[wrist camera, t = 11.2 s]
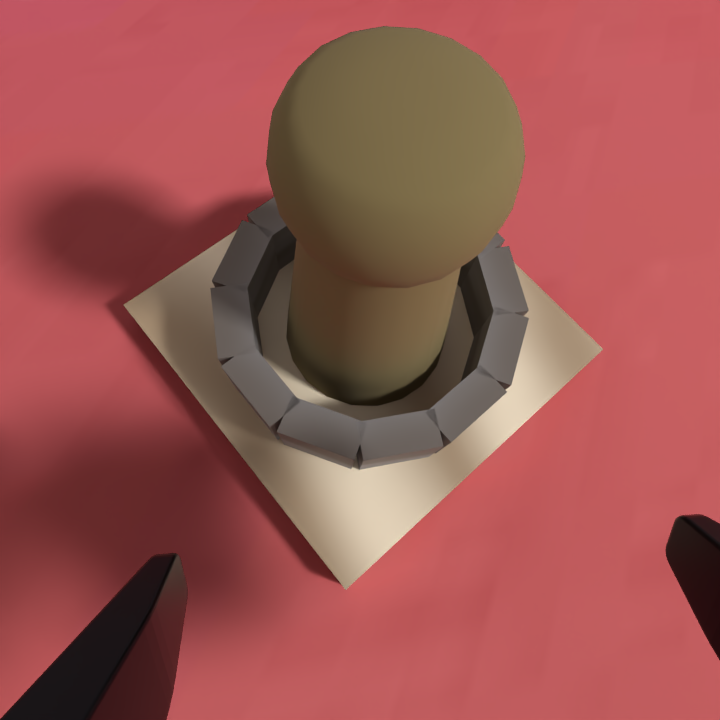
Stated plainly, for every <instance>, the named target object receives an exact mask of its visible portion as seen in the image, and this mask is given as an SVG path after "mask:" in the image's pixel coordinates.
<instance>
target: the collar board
mask: <svg viewBox="0 0 720 720" xmlns="http://www.w3.org/2000/svg"><path fill="white" fill-rule="evenodd" d="M247 216H248V220H249V222H246V221H243V220H242V221H241V223H240V225H239V227H238V229H237V230H236V231H234V232H233V233H231V234H230V235H228V236H227V237H225V238H224V239H222V240H221V241H219V242H218V243H216V244H214V245H213V246H211V247H210V248H208V249H207V250H205V251H204V252H202V253H201V254H199V255H198V256H196V257H195V258H193V259H192V260H190V261H189V262H187V263H186V264H184V265H183V266H181V267H180V268H178V269H177V270H175V271H174V272H172V273H171V274H169V275H168V276H166V277H165V278H163V279H162V280H160V281H159V282H157V283H156V284H154V285H153V286H151V287H150V288H148V289H147V290H145V291H144V292H142V293H141V294H139V295H138V296H136V297H135V298H133V299H132V300H130V301H129V302H127V303H126V304H124V306H125V308H126V309H127V310H128V312H129V313H130V314H131V315H132V317H133V318H134V319H135V321H136V322H137V323H138V324H139V326H140V327H141V328H142V329H143V331H144V332H145V333H146V335H147V336H148V337H149V338H150V340H151V341H152V342H153V344H154V345H155V346H156V347H157V349H158V350H159V351H160V353H161V354H162V355H163V356H164V358H165V359H166V360H167V362H168V363H169V364H170V365H171V367H172V368H173V369H174V371H175V372H176V373H177V374H178V376H179V377H180V378H181V379H182V381H183V382H184V383H185V385H186V386H187V387H188V388H189V390H190V391H191V392H192V394H193V395H194V396H195V397H196V399H197V400H198V401H199V403H200V404H201V405H202V406H203V408H204V409H205V410H206V412H207V413H208V414H209V415H210V417H211V418H212V419H213V420H214V422H215V423H216V424H217V426H218V427H219V428H220V429H221V431H222V432H223V433H224V435H225V436H226V437H227V438H228V440H229V441H230V442H231V444H232V445H233V446H234V447H235V449H236V450H237V451H238V453H239V454H240V455H241V456H242V458H243V459H244V460H245V462H246V463H247V464H248V465H249V467H250V468H251V469H252V470H253V472H254V473H255V474H256V476H257V477H258V478H259V479H260V481H261V482H262V483H263V485H264V486H265V487H266V488H267V490H268V491H269V492H270V494H271V495H272V496H273V497H274V499H275V500H276V501H277V503H278V504H279V505H280V506H281V508H282V509H283V510H284V511H285V513H286V514H287V515H288V517H289V518H290V519H291V520H292V522H293V523H294V524H295V526H296V527H297V528H298V529H299V531H300V532H301V533H302V535H303V536H304V537H305V538H306V540H307V541H308V542H309V544H310V545H311V546H312V547H313V549H314V550H315V551H316V553H317V554H318V555H319V556H320V558H321V559H322V560H323V561H324V563H325V564H326V565H327V567H328V568H329V569H330V570H331V572H332V573H333V574H334V576H335V577H336V578H337V579H338V581H339V582H340V583H341V585H342V586H343V587H344V588H345V590H346V589H347V588H348V587H349V586H350V585H351V584H353V583H354V582H355V581H356V580H357V579H358V578H359V577H360V576H361V575H362V574H363V573H364V572H365V571H366V570H368V569H369V568H370V567H371V566H372V565H373V564H374V563H375V562H376V561H377V560H378V559H379V558H380V557H381V556H383V555H384V554H385V553H386V552H387V551H388V550H389V549H390V548H391V547H392V546H393V545H394V544H395V543H396V542H397V541H399V540H400V539H401V538H402V537H403V536H404V535H405V534H406V533H407V532H408V531H409V530H410V529H411V528H412V527H414V526H415V525H416V524H417V523H418V522H419V521H420V520H421V519H422V518H423V517H424V516H425V515H426V514H427V513H429V512H430V511H431V510H432V509H433V508H434V507H435V506H436V505H437V504H438V503H439V502H440V501H441V500H442V499H443V498H445V497H446V496H447V495H448V494H449V493H450V492H451V491H452V490H453V489H454V488H455V487H456V486H457V485H458V484H460V483H461V482H462V481H463V480H464V479H465V478H466V477H467V476H468V475H469V474H470V473H471V472H472V471H473V470H475V469H476V468H477V467H478V466H479V465H480V464H481V463H482V462H483V461H484V460H485V459H486V458H487V457H488V456H490V455H491V454H492V453H493V452H494V451H495V450H496V449H497V448H498V447H499V446H500V445H501V444H502V443H503V442H504V441H506V440H507V439H508V438H509V437H510V436H511V435H512V434H513V433H514V432H515V431H516V430H517V429H518V428H519V427H521V426H522V425H523V424H524V423H525V422H526V421H527V420H528V419H529V418H530V417H531V416H532V415H533V414H534V413H536V412H537V411H538V410H539V409H540V408H541V407H542V406H543V405H544V404H545V403H546V402H547V401H548V400H549V399H550V398H552V397H553V396H554V395H555V394H556V393H557V392H558V391H559V390H560V389H561V388H562V387H563V386H564V385H565V384H567V383H568V382H569V381H570V380H571V379H572V378H573V377H574V376H575V375H576V374H577V373H578V372H579V371H580V370H582V369H583V368H584V367H585V366H586V365H587V364H588V363H589V362H590V361H591V360H592V359H593V358H594V357H595V356H596V355H598V354H599V353H600V352H601V351H602V350H603V349H602V348H601V347H600V346H599V345H598V344H597V343H596V342H595V341H594V340H593V339H592V338H591V337H590V336H589V335H588V334H587V333H586V332H585V331H584V330H583V329H582V328H581V327H580V326H579V325H578V324H577V323H576V322H575V321H574V320H573V319H572V318H571V317H570V316H569V315H567V314H566V313H565V312H564V311H563V310H562V309H561V308H560V307H559V306H558V305H557V304H556V303H555V302H554V301H553V300H552V299H551V298H550V297H549V296H548V295H547V294H546V293H545V292H544V291H543V290H542V289H541V288H540V287H539V286H538V285H537V284H536V283H535V282H534V281H533V280H532V279H530V278H529V277H528V276H527V275H526V274H525V273H524V272H523V271H522V270H521V269H520V268H519V267H518V266H517V265H516V264H515V263H514V261H513V258H512V255H511V252H510V248H509V246H507V247H501V245H502V244H503V242H504V239H503V238H502V237H501V236H500V235H499V234H498V233H496V234H495V236H494V237H493V238H492V240H491V241H490V242H489V243H488V245H487V246H486V247H485V249H484V250H483V251H482V252H481V253H480V254H479V255H477V256H476V257H475V258H473V259H472V260H471V261H469V262H468V263H466V264H465V265H463V266H462V267H461V269H460V274H459V278H458V283H457V287H456V292H455V296H454V301H453V305H452V310H451V314H450V319H449V323H448V328H447V332H446V337H445V341H444V345H443V348H442V352H441V355H440V358H439V361H438V364H437V367H436V368H435V369H434V371H433V372H432V373H431V375H430V376H429V377H428V379H427V380H426V381H425V383H424V384H423V385H422V386H420V387H419V388H418V389H416V390H415V391H413V392H412V393H410V394H409V395H407V396H406V397H404V398H403V399H400V400H397V401H393V402H390V403H386V404H383V405H379V406H362V405H350V404H347V403H344V402H341V401H338V400H335V399H333V398H330V397H327V396H326V395H324V394H323V393H322V392H320V391H319V390H318V389H316V388H315V387H314V386H312V385H311V384H310V383H308V382H307V381H306V379H305V378H304V377H303V375H302V374H301V372H300V371H299V369H298V368H297V366H296V365H295V363H294V362H293V360H292V357H291V353H290V349H289V346H288V342H287V339H286V335H287V320H288V309H289V301H290V292H291V283H292V275H293V266H294V257H295V249H296V240H297V239H296V238H295V237H294V235H293V234H292V233H291V231H290V230H289V228H288V227H287V225H286V224H285V222H284V221H283V219H282V218H281V216H280V215H279V211H278V208H277V204H276V201H275V198H274V197H273V198H272V199H270V200H269V201H267V202H266V203H264V204H263V205H261V206H260V207H258V208H257V209H255V210H254V211H252V212H250V213H249V214H247Z"/></svg>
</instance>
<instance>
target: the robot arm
mask: <svg viewBox="0 0 720 720" xmlns="http://www.w3.org/2000/svg"><path fill="white" fill-rule="evenodd" d="M666 557H667V560H668V562H669V565H670V567H671V569H672V571H673V573H674V574H675V576H676V578H677V580H678V582H679V584H680V586H681V588H682V590H683V592H684V594H685V596H686V598H687V600H688V602H689V604H690V606H691V608H692V610H693V612H694V614H695V616H696V618H697V620H698V622H699V624H700V626H701V628H702V630H703V632H704V634H705V636H706V637H707V639H708V641H709V643H710V645H711V646H712V648H713V650H714V652H715V653H716V655H717V657H718V658H719V660H720V524H719V523H717V522H716V521H714V520H712V519H710V518H708V517H706V516H704V515H700V514H694V515H681V516H679V517H677V518H676V520H675V522H674V524H673V527H672V530H671V533H670V536H669V539H668V542H667V545H666ZM187 595H188V590H187V583H186V579H185V575H184V571H183V567H182V563H181V559H180V557H179V555H178V554H176V553H169V554H157V555H154V556H152V557H151V558H150V559H149V560H148V561H147V562H146V563H145V564H144V565H143V566H142V568H141V569H140V570H139V571H138V572H137V573H136V574H135V575H134V576H133V577H132V578H131V579H130V580H129V581H128V583H127V584H126V585H125V586H124V587H123V588H122V589H121V590H120V591H119V592H118V593H117V594H116V595H115V597H114V598H113V599H112V600H111V601H110V602H109V603H108V604H107V605H106V606H105V607H104V608H103V609H102V610H101V612H100V613H99V614H98V615H97V616H96V617H95V618H94V619H93V620H92V621H91V622H90V623H89V624H88V625H87V627H86V628H85V629H84V630H83V631H82V632H81V633H80V634H79V635H78V636H77V637H76V638H75V639H74V641H73V642H72V643H71V644H70V645H69V646H68V647H67V648H66V649H65V650H64V651H63V652H62V653H61V654H60V656H59V657H58V658H57V659H56V660H55V661H54V662H53V663H52V664H51V665H50V666H49V667H48V668H47V670H46V671H45V672H44V673H43V674H42V675H41V676H40V677H39V678H38V679H37V680H36V681H35V682H34V683H33V685H32V686H31V687H30V688H29V689H28V690H27V691H26V692H25V693H24V694H23V695H22V696H21V697H20V699H19V700H18V701H17V702H16V703H15V704H14V705H13V706H12V707H11V708H10V709H9V710H8V711H7V712H6V714H5V715H4V716H3V717H2V718H1V719H0V720H166V719H167V716H168V712H169V708H170V703H171V699H172V695H173V689H174V684H175V678H176V671H177V664H178V658H179V651H180V644H181V638H182V631H183V624H184V618H185V611H186V604H187Z"/></svg>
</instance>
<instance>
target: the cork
mask: <svg viewBox="0 0 720 720" xmlns="http://www.w3.org/2000/svg"><path fill="white" fill-rule="evenodd" d="M524 161H525V150H524V140H523V130H522V123H521V120H520V116H519V113H518V110H517V106H516V104H515V102H514V100H513V98H512V96H511V94H510V92H509V90H508V88H507V86H506V84H505V82H504V80H503V78H502V77H501V76H500V75H499V74H498V73H497V72H496V71H495V70H494V69H493V68H492V67H491V66H490V65H489V64H488V63H487V62H486V61H485V60H484V59H483V58H482V57H481V56H480V55H478V54H477V53H475V52H473V51H472V50H470V49H468V48H467V47H465V46H463V45H462V44H460V43H458V42H456V41H455V40H453V39H451V38H448V37H445V36H442V35H438V34H435V33H432V32H428V31H425V30H422V29H418V28H403V27H387V26H383V27H377V28H371V29H366V30H360V31H355V32H350V33H348V34H346V35H343V36H341V37H339V38H337V39H335V40H333V41H331V42H329V43H326V44H324V45H322V46H320V47H319V48H318V49H317V50H316V51H315V52H314V53H313V54H312V55H311V56H310V57H308V58H307V59H306V60H305V61H304V62H303V63H302V64H301V65H300V66H299V67H298V68H297V69H296V71H295V72H294V74H293V75H292V76H291V78H290V79H289V80H288V82H287V84H286V86H285V88H284V90H283V92H282V93H281V95H280V97H279V99H278V101H277V103H276V105H275V107H274V109H273V111H272V117H271V123H270V129H269V139H268V150H267V160H266V165H267V170H268V175H269V180H270V184H271V187H272V191H273V194H274V198H275V201H276V204H277V208H278V211H279V215H280V216H281V218H282V219H283V221H284V222H285V224H286V225H287V227H288V228H289V230H290V231H291V233H292V234H293V235H294V237H295V238H296V239H297V240H296V249H295V257H294V266H293V275H292V283H291V292H290V301H289V309H288V320H287V335H286V339H287V342H288V346H289V349H290V353H291V357H292V360H293V362H294V363H295V365H296V366H297V368H298V369H299V371H300V372H301V374H302V375H303V377H304V378H305V379H306V381H307V382H308V383H310V384H311V385H312V386H314V387H315V388H316V389H318V390H319V391H320V392H322V393H323V394H324V395H326V396H327V397H330V398H333V399H335V400H338V401H341V402H344V403H347V404H350V405H362V406H379V405H383V404H386V403H390V402H393V401H397V400H400V399H403V398H404V397H406V396H407V395H409V394H410V393H412V392H413V391H415V390H416V389H418V388H419V387H420V386H422V385H423V384H424V383H425V381H426V380H427V379H428V377H429V376H430V375H431V373H432V372H433V371H434V369H435V368H436V367H437V364H438V361H439V358H440V355H441V352H442V348H443V345H444V341H445V337H446V332H447V328H448V323H449V319H450V314H451V310H452V305H453V301H454V296H455V292H456V287H457V283H458V278H459V274H460V269H461V267H462V266H463V265H465V264H466V263H468V262H469V261H471V260H472V259H473V258H475V257H476V256H477V255H479V254H480V253H481V252H482V251H483V250H484V249H485V247H486V246H487V245H488V243H489V242H490V241H491V240H492V238H493V237H494V236H495V234H496V233H497V232H498V231H499V229H500V228H501V227H502V225H503V224H504V222H505V220H506V219H507V217H508V215H509V214H510V212H511V210H512V209H513V205H514V202H515V198H516V195H517V192H518V188H519V185H520V181H521V178H522V173H523V167H524Z"/></svg>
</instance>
